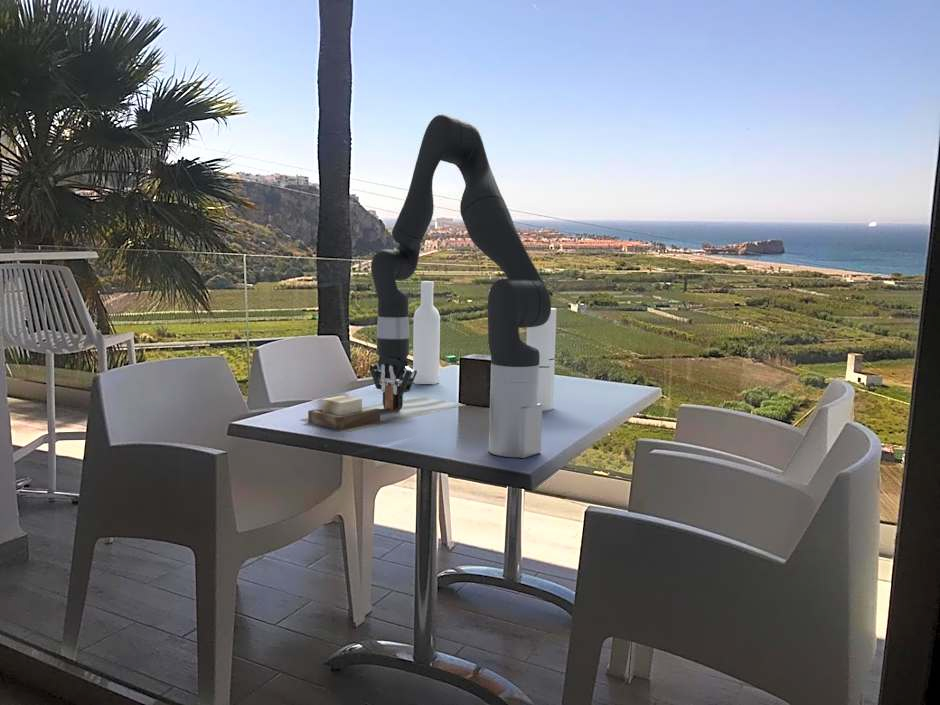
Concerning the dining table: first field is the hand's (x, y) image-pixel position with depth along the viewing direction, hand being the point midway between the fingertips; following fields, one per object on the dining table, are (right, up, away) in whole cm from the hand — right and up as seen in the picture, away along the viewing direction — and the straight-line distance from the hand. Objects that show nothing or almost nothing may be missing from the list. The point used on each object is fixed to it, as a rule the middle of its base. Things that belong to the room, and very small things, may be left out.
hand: (392, 408), depth 176 cm
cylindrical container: (+36, -1, +11) cm, 37 cm away
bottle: (+5, +4, +45) cm, 46 cm away
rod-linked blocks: (-5, -1, -7) cm, 9 cm away
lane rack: (-1, -2, -1) cm, 2 cm away
